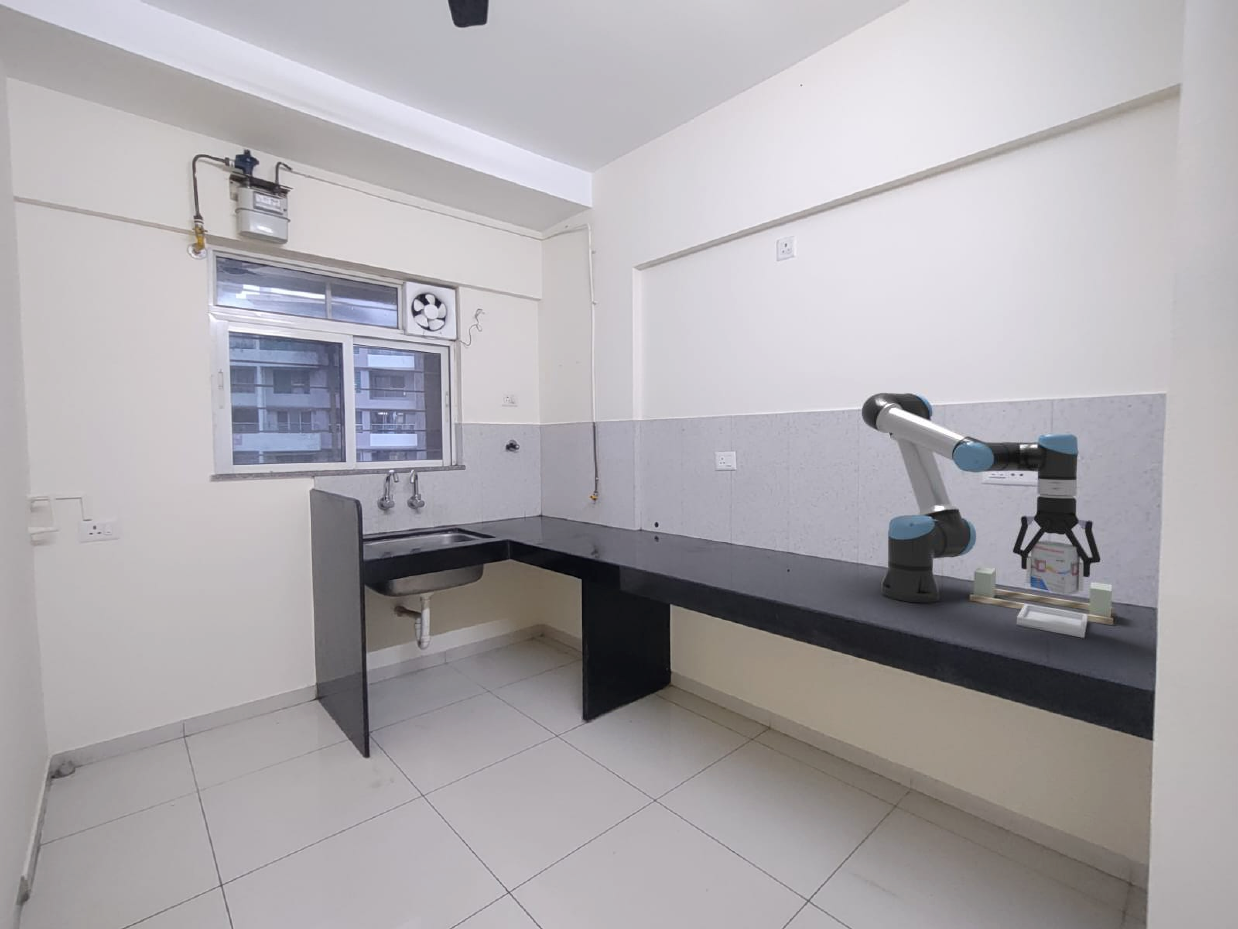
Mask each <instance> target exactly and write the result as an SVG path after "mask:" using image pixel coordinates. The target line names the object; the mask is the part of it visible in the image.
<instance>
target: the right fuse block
mask: <svg viewBox="0 0 1238 929" xmlns="http://www.w3.org/2000/svg"><path fill="white" fill-rule="evenodd" d="M1112 590H1113V585H1112V584H1109V583H1102V582H1094V581H1091V582H1090V587H1089V604H1090V605H1089V610H1088V614H1090V615H1096V616H1102V617H1108V618H1112V616H1111V615H1112V614H1111V607H1112V595H1113V594H1112V592H1113V591H1112Z"/></svg>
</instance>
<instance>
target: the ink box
mask: <svg viewBox="0 0 1238 929" xmlns="http://www.w3.org/2000/svg"><path fill="white" fill-rule="evenodd" d="M1030 556H1031V583H1030V587H1031V588H1034V589H1039V590H1043V591H1047V592H1052V593H1056V594H1060V595H1065V596H1071V595H1076V594H1077V595H1078V594H1079V593H1080V591H1079V563H1080V562H1081V560H1080V559H1081V558H1080V556H1079V555H1078V553H1077V551H1076V547H1074V546H1073V545H1072V543H1063V542H1058V541H1052V540H1047V539H1044V540H1039V541H1038V542H1037V543H1036V545H1035V546H1034V547H1033V549H1032V550H1031V551H1030Z"/></svg>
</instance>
